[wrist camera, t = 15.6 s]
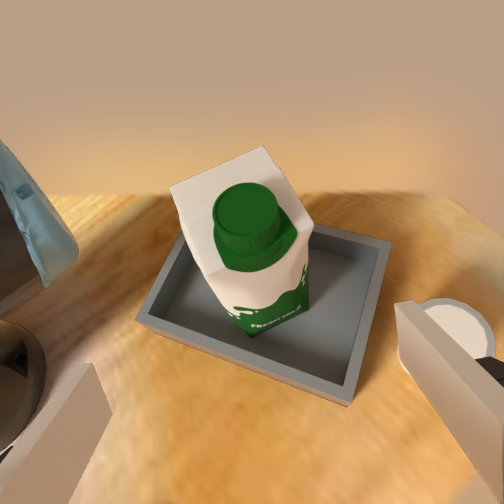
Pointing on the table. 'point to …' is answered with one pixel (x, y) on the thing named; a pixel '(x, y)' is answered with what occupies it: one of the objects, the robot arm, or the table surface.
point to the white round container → (461, 326)
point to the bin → (289, 332)
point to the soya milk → (248, 239)
